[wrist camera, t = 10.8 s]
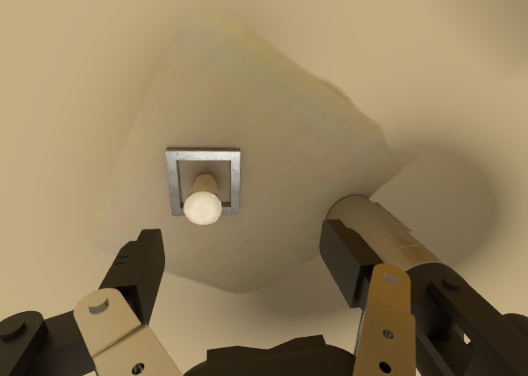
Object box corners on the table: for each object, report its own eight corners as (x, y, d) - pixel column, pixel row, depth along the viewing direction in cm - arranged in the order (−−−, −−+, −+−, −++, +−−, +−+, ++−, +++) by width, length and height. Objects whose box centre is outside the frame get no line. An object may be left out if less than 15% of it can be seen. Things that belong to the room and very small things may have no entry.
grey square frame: (239, 148, 37) (240, 151, 36) (238, 209, 41) (239, 213, 40) (167, 148, 36) (165, 151, 34) (173, 211, 40) (172, 216, 38)
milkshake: (228, 172, 38) (232, 202, 29) (212, 201, 40) (211, 238, 31) (200, 159, 37) (195, 186, 28) (185, 189, 38) (175, 225, 29)
